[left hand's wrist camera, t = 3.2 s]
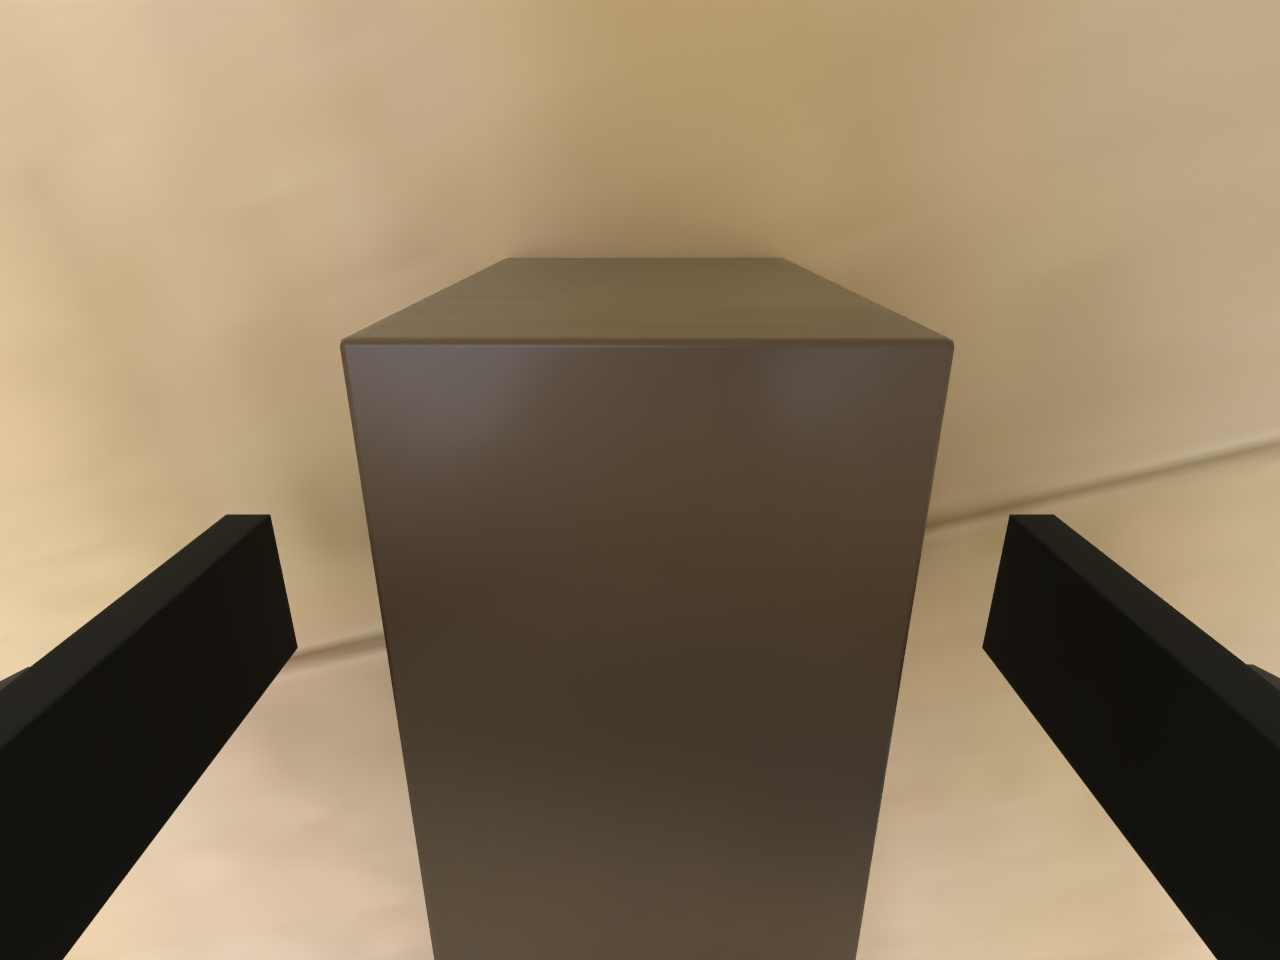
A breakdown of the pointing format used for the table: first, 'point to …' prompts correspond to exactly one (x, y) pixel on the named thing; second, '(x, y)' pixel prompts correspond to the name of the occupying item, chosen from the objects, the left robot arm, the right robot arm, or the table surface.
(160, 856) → the table surface
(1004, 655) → the left robot arm
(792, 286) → the beam
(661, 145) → the table surface
